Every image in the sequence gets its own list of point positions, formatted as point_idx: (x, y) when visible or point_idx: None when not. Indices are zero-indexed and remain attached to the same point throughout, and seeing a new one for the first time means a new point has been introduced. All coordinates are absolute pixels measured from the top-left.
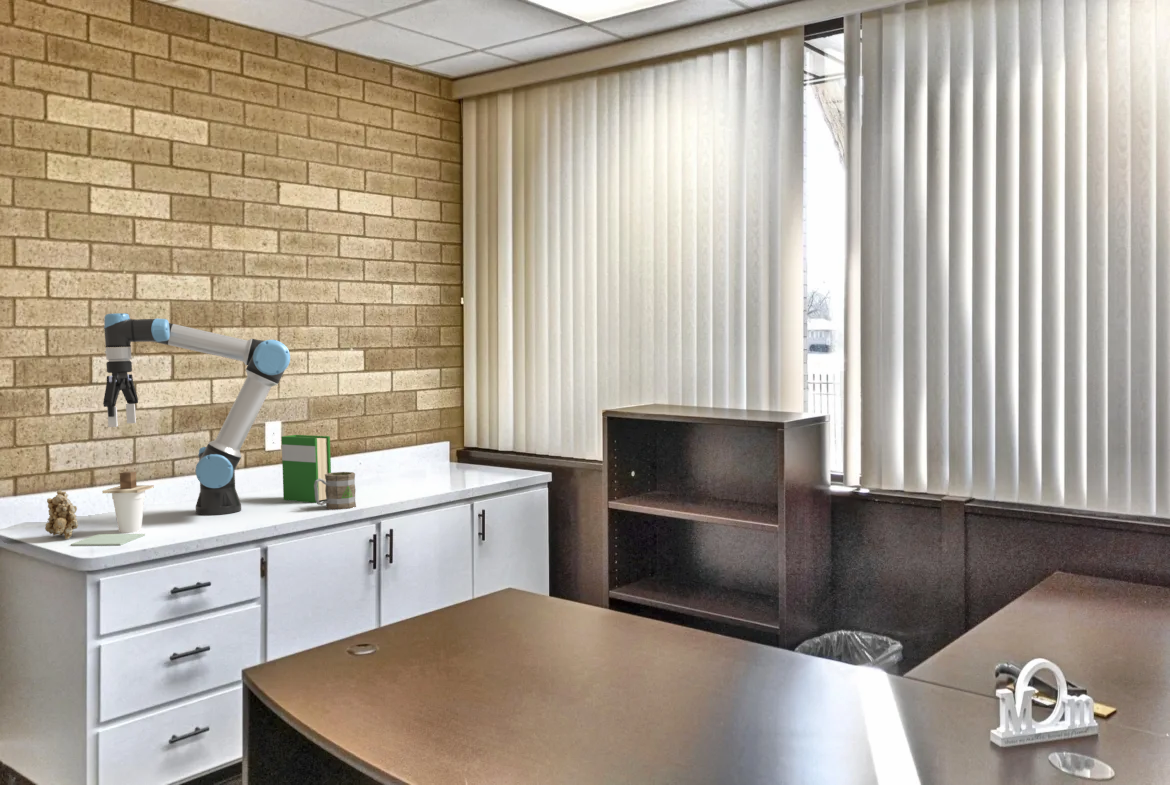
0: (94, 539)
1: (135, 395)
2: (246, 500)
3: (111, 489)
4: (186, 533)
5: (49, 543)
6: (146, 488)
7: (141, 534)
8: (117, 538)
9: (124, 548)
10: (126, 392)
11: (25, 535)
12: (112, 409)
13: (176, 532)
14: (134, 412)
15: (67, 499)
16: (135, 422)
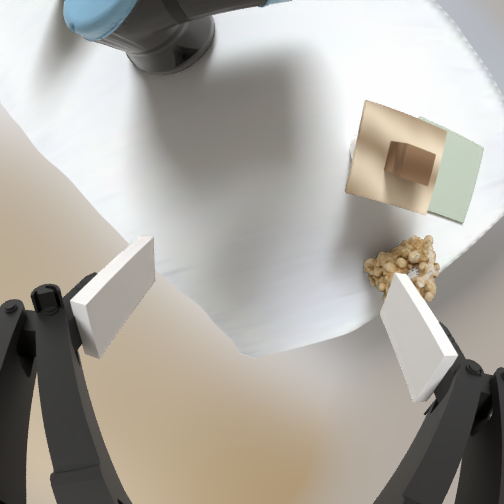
0: (443, 194)
1: (6, 338)
2: (64, 44)
3: (412, 198)
4: (414, 49)
5: None
6: (404, 113)
7: (425, 121)
8: (447, 158)
9: (499, 139)
10: (99, 439)
11: (345, 317)
12: (458, 353)
13: (402, 65)
14: (120, 267)
15: (426, 275)
16: (145, 236)
